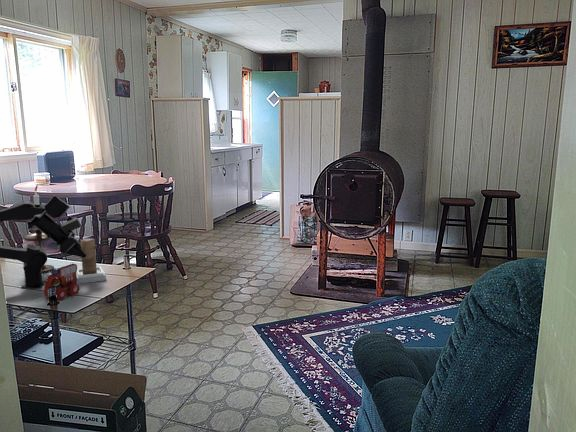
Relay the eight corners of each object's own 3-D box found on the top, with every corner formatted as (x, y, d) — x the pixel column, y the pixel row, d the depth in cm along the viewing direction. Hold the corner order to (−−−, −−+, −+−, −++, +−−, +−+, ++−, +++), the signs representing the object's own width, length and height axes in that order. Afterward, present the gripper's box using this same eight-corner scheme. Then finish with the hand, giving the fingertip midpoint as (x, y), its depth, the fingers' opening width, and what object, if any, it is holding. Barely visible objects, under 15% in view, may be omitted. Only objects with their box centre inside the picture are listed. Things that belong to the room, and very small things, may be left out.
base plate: (77, 283, 173) (76, 276, 173) (75, 276, 182) (74, 269, 181) (105, 280, 178) (105, 273, 177) (102, 272, 186) (101, 266, 186)
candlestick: (62, 266, 193) (56, 182, 186) (46, 275, 182) (40, 186, 176) (36, 265, 194) (30, 181, 187) (20, 273, 183) (12, 185, 177)
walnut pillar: (94, 274, 177) (92, 241, 175) (80, 275, 177) (78, 241, 174) (98, 271, 182) (96, 238, 180) (85, 271, 182) (83, 238, 179)
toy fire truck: (39, 299, 157) (36, 270, 155) (70, 288, 168) (68, 261, 166) (52, 303, 154) (50, 273, 152) (84, 292, 165) (82, 264, 163)
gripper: (67, 215, 164) (102, 243, 171) (64, 207, 180) (96, 232, 187) (44, 239, 161) (80, 266, 169) (42, 228, 177) (76, 253, 185)
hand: (84, 253), depth 177 cm, fingers open, 9 cm apart
